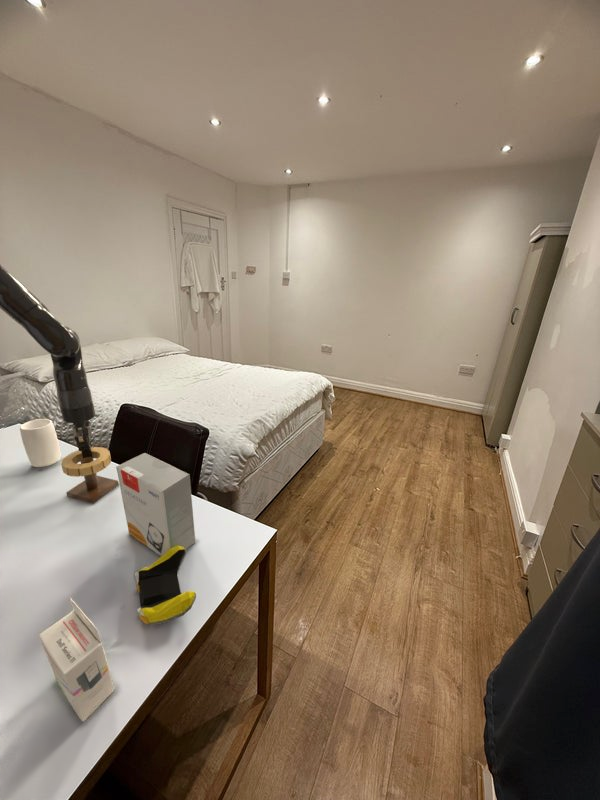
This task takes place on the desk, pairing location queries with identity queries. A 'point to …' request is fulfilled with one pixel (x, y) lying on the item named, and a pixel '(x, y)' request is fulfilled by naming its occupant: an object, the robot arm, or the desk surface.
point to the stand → (92, 486)
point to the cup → (40, 442)
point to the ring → (85, 469)
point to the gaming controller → (163, 589)
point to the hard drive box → (157, 503)
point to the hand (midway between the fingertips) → (88, 456)
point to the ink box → (78, 661)
